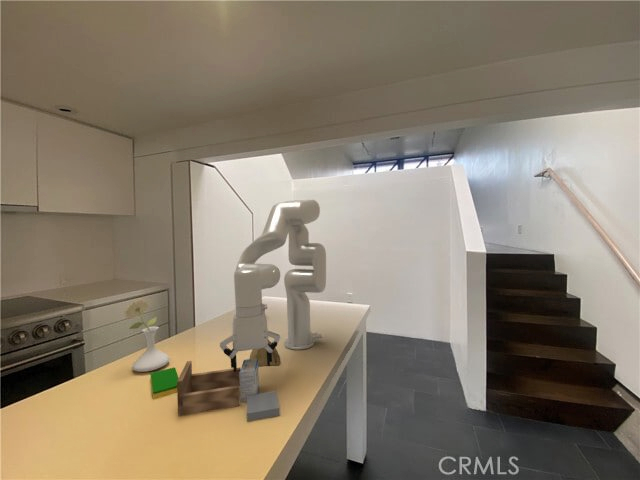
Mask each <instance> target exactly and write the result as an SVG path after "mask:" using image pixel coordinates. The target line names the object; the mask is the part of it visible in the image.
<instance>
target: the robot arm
mask: <svg viewBox="0 0 640 480" xmlns="http://www.w3.org/2000/svg"><path fill="white" fill-rule="evenodd" d="M320 208H321V207H320V204H319V202H318V201H317V200H316V199H302V200H288V201H282V202H277V203H275V204H274V205H273V206H272V207H271V209H270V212H269V214H268V217H267V220H266V223H265V226H264V228H263V230H262V233H261V234H260V236H258V237H257V238H256V239H254V240H253V241H251V243H250V244H249V245H248V246H247V247H246V248H245V249H244V250H243V251H242V253H241V255H240V257H239V260H238V261H237V265H236V268H235V270H234V274H233V282H234V283H233V284H234V299H235V301H234V302H235V314H233V319H232V334H231V335H230V336H228V337H227V338H225V339H224V340H222V341H221V342H220V343H219V347H220V349H221V350H222V352H223V353H224V354H225V355H226V356H227V357H228V358H229V360H230V369H233V368H234V372H236V369H237V368H238V367H237V365H238V363H237V353H238V352H244V351H252V350H253V349H260V348H265V349H266V351H267V367H270V366H271V365H270V362H272V352H273V350H274V349H275V348H277V346H278V343H279V342H280V339H281V335H280V334H278V333H276V332H273V331H271V330H269V329H268V323H267V322H268V320H267V316H266V310H268V304H267V303H266V304H265V303H263V298H262V294H263V293H262V291H263V290H265V289H271V288H273V287H276V286H277V285H278V283H279V281H280V279H281V270H280V269H279V268H278V266H276V265H274V264H272V263H256V262H257V261H258V260H259V259H260V258H262V257H263V256H264V255H266V254H268V253H271V252H273V251H275V250H278V249H280V248H281V247H283V246H284V245H285V244H286V241H287V238H288V249H287V250H288V253H287V254H288V255H287V256H288V262H289V263H290V265H293V266H300V267H301V266H302V267H303V266H304V267H312V268H313V269H311V268H310V269H309V268H307V269H306V268H293V269H289V270H287V272H285V274H284V278H283V283H284V287H285V288H284V289H285V292H286V293H285V294H286V303H287V304H286V305H287V315H286V316H287V339H285V340H284V342H283V343H284V345H283V346H285V347H286V348H287V349H289V350H295V351H296V350H297V351H298V350H306V349H309V348H311V347H313V346H314V345H315V339H323V335H322V333H318V332H312V330H311V302H310V298H309V297H308V295H307V293H311V294H312V293H314V294H315V293H316V294H319V293H323V292H324V291H325V288H326V285H327V253H326V249H325V246H324V245H323V244H322V243H319V242H310V239H309V238H310V237H309V235H310V234H309V233H310V232H309V230H308V228H307V226H306V225H307V224H310V223H313V222H315V221H316V220H317V219H319V217H320V214H321V213H320V212H321V209H320ZM263 310H265V312H263ZM269 338H272V339H273V341H272V342H271V345H270V344H269V343H268V340H269ZM230 343H232V348H231V349H230V348H229V347H228V346H227V345H229V344H230Z"/></svg>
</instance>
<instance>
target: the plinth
mask: <svg viewBox="0 0 640 480" xmlns="http://www.w3.org/2000/svg"><path fill="white" fill-rule="evenodd" d="M279 416H280V404H279V398H278V393H277V390H273V391H267V392H261V393H260V392H259V393H258V394H253V395H247V402H246V422H252V421H257V420H258V421H259V420H262V419H263V420H264V419H268V418H275V417H279Z"/></svg>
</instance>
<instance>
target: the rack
mask: <svg viewBox="0 0 640 480" xmlns="http://www.w3.org/2000/svg"><path fill="white" fill-rule="evenodd" d="M241 367H242V366H241ZM241 367H237V369H236V372H234V368H227V369H220V370H213V371H211V370H210V371H204V372H198V373H197V372H196V373H193V367H192V360H188V361H186V363H185V365H184V366H183V369H182V372H181V373H180V375H179V376H178V378H179V379H178V381H177V392H176V396H177V398H176V399H177V416H178V417H181V416H188V415H193V414H199V413H205V412H211V411H218V410H223V409H228V408H235V407H240V405H241V399H240V376H239V375H240V370H241Z"/></svg>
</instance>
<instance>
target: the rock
mask: <svg viewBox="0 0 640 480" xmlns="http://www.w3.org/2000/svg"><path fill="white" fill-rule="evenodd" d="M268 343H269V344H270V345H271V343H272V342H271V341H270V339H268ZM276 348H277V347H275V349H274V350H273V352H272V362H270V366H278V365H280V364H281V357H280V354H279V352H278V350H277V349H276ZM248 359H258V367H265V366H267V351H266V349H265V348H260V349H253V350H251V352H250V355H249V357H248ZM267 367H268V366H267Z"/></svg>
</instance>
